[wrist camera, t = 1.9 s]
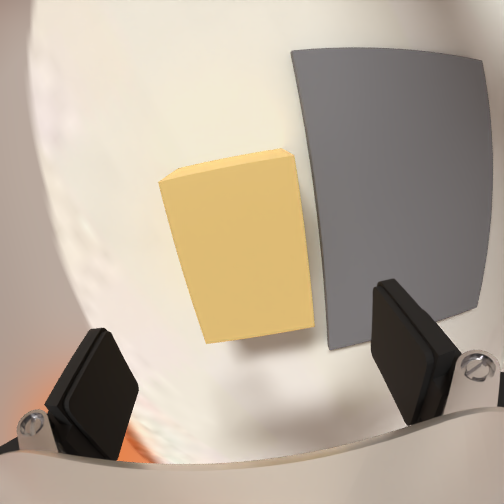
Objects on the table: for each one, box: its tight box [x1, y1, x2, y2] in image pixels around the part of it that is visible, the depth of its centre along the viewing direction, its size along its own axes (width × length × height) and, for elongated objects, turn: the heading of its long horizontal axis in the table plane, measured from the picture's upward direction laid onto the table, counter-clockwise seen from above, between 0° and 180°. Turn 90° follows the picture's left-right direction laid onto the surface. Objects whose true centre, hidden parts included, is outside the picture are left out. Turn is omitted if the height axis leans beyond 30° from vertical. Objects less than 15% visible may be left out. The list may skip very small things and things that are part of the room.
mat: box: [291, 48, 493, 350], centre depth 18 cm, size 20×14×1 cm
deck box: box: [158, 148, 315, 344], centre depth 17 cm, size 9×6×4 cm, turn 10°
